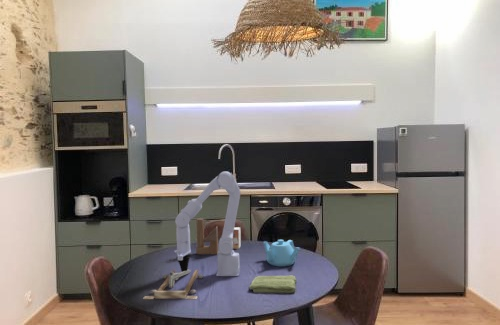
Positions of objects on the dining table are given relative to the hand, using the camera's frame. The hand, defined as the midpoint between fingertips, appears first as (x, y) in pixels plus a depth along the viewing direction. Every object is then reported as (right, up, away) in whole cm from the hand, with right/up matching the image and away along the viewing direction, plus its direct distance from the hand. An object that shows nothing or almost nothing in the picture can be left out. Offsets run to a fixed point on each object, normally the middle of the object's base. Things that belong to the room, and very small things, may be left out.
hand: (184, 271), depth 163 cm
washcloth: (+38, -2, -15) cm, 41 cm away
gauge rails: (0, -2, -10) cm, 11 cm away
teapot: (+43, 0, +14) cm, 45 cm away
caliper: (-1, -2, -5) cm, 6 cm away
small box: (+19, +1, +41) cm, 45 cm away
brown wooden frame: (+6, 0, +31) cm, 31 cm away
